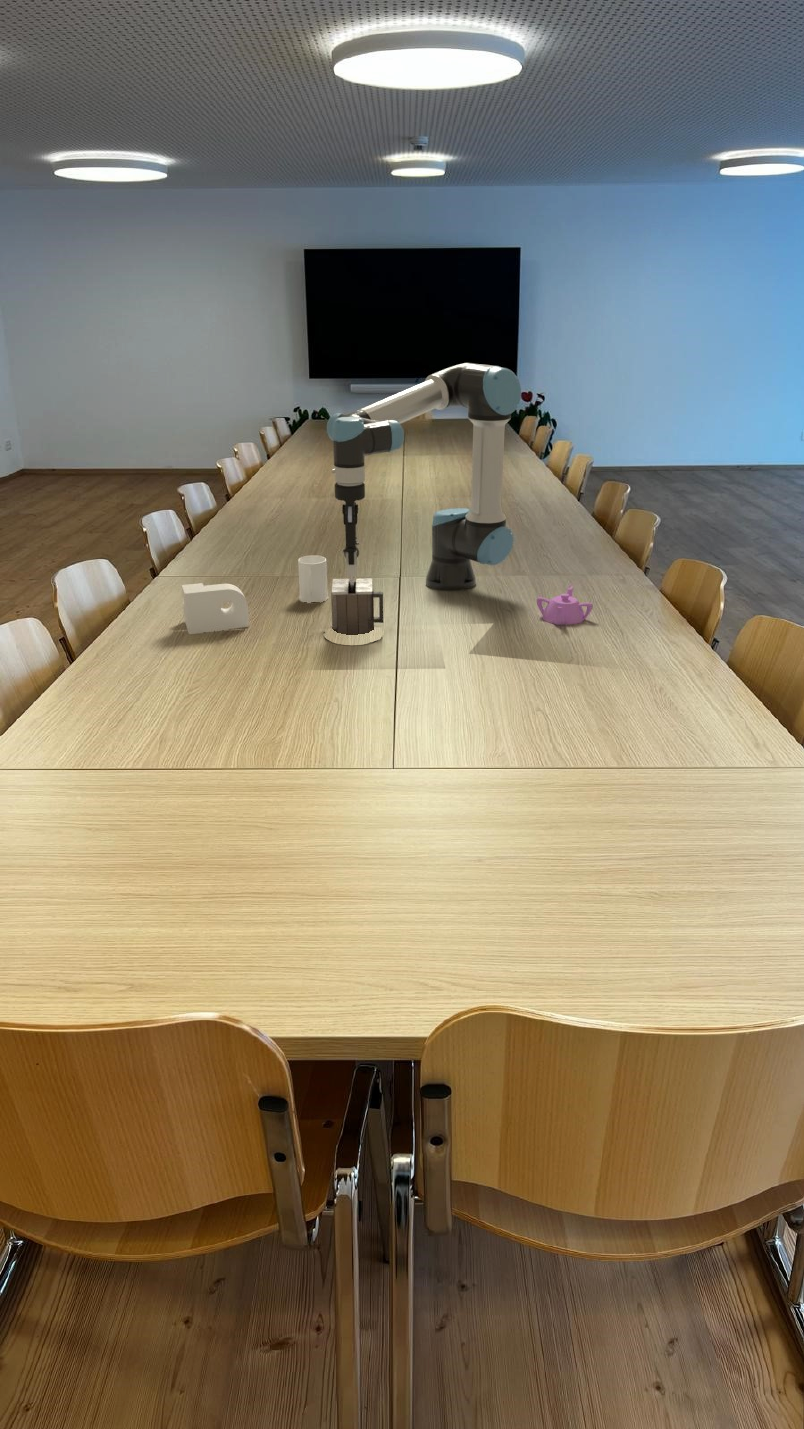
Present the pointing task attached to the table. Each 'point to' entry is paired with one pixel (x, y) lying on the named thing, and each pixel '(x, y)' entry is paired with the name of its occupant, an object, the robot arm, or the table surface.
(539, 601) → the teapot
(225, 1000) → the table surface
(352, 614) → the wooden tankard
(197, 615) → the tape dispenser
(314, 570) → the mug
